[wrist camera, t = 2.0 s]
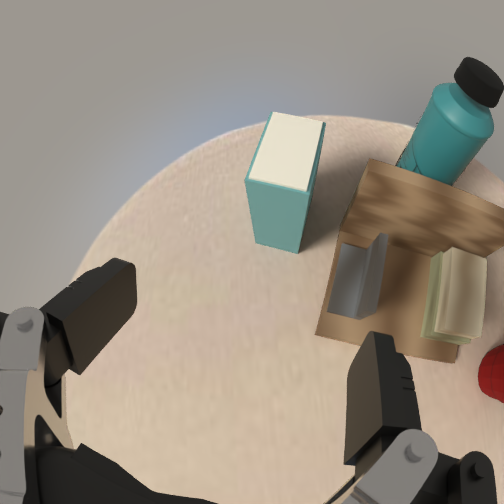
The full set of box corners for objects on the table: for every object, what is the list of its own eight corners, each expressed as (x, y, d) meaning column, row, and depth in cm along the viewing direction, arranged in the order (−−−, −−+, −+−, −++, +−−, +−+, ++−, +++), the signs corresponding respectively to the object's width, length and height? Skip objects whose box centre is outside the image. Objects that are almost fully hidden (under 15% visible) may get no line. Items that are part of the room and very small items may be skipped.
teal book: (312, 196, 33) (326, 120, 21) (297, 253, 31) (309, 193, 19) (273, 187, 34) (270, 109, 22) (255, 242, 32) (244, 178, 20)
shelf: (462, 260, 29) (524, 219, 18) (449, 363, 25) (523, 358, 14) (340, 224, 31) (369, 158, 20) (314, 334, 28) (341, 321, 17)
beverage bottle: (437, 218, 31) (533, 109, 12) (391, 223, 31) (480, 94, 12) (420, 173, 33) (490, 54, 14) (376, 174, 33) (434, 37, 14)
